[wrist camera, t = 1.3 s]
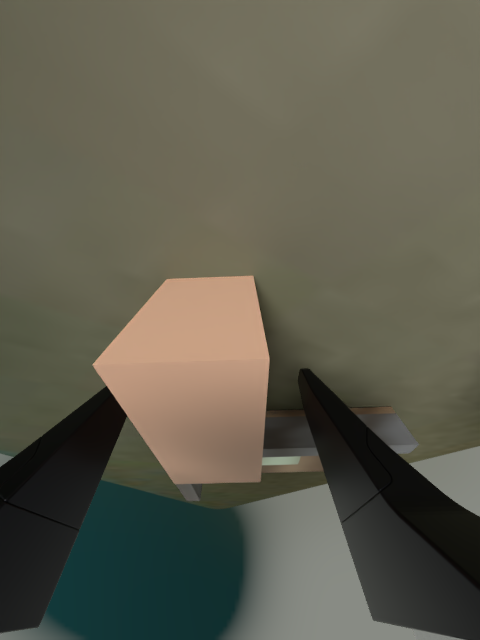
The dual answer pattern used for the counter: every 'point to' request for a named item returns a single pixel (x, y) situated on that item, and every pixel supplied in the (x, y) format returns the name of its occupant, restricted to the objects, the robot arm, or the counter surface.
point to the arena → (298, 445)
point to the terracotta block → (195, 378)
